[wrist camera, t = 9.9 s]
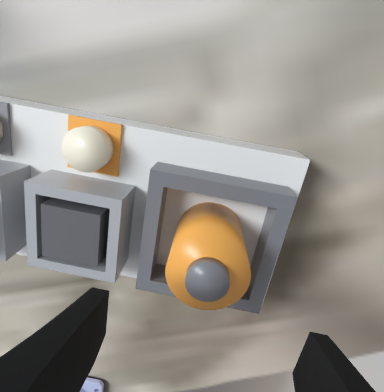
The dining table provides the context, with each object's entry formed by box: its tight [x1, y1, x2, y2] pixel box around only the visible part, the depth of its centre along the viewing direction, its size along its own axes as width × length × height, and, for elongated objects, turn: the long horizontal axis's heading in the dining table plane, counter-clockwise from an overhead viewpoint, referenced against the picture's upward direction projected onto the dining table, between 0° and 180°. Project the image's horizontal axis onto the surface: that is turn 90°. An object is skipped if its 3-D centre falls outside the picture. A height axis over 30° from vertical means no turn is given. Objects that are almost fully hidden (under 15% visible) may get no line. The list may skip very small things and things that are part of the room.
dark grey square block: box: [41, 197, 110, 267], centre depth 16 cm, size 3×3×2 cm
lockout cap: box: [165, 202, 251, 310], centre depth 15 cm, size 4×4×5 cm
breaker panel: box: [0, 96, 310, 314], centre depth 17 cm, size 10×22×5 cm, turn 80°
